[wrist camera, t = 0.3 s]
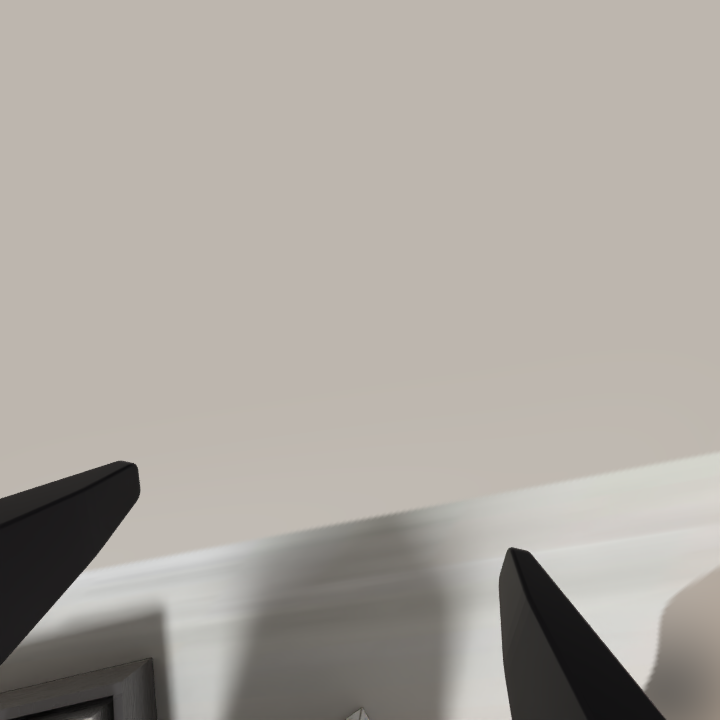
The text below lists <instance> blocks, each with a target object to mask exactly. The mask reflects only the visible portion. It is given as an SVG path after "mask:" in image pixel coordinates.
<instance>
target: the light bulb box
mask: <svg viewBox="0 0 720 720" xmlns="http://www.w3.org/2000/svg"><path fill="white" fill-rule="evenodd" d="M346 720H369V719H368V717H367V715H366V713H365V711H364V709H363V708H360V709H359V710H358V711H356V712H355V713H354V714H352V715H351V716H350V717H348V718H347V719H346Z"/></svg>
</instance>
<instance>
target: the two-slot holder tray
mask: <svg viewBox="0 0 720 720" xmlns="http://www.w3.org/2000/svg"><path fill="white" fill-rule="evenodd" d="M0 720H157V715H156V702H155V689H154V676H153V663H152V658H148V659H144V660H140V661H136V662H131V663H127V664H123V665H119V666H114V667H110V668H106V669H102V670H97V671H93V672H89V673H85V674H80V675H76V676H72V677H68V678H63V679H59V680H55V681H51V682H46V683H42V684H38V685H34V686H29V687H25V688H21V689H17V690H12V691H8V692H4V693H0Z"/></svg>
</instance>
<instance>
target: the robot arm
mask: <svg viewBox="0 0 720 720" xmlns="http://www.w3.org/2000/svg"><path fill="white" fill-rule="evenodd" d="M139 495H140V482H139V473H138V467H137V466H136V464H134V463H130V462H126V461H116V462H113V463H110V464H107V465H104V466H101V467H98V468H95V469H92V470H88V471H85V472H83V473H79V474H76V475H73V476H70V477H67V478H63V479H60V480H57V481H54V482H51V483H48V484H45V485H42V486H39V487H35V488H32V489H29V490H26V491H23V492H20V493H17V494H14V495H11V496H7V497H4V498H1V499H0V665H1V664H2V663H3V662H4V661H5V660H6V659H7V657H8V656H9V655H10V654H11V653H12V652H13V651H14V649H15V648H16V647H17V646H18V645H19V644H20V643H21V641H22V640H23V639H24V638H25V637H26V636H27V635H28V633H29V632H30V631H31V630H32V629H33V628H34V627H35V625H36V624H37V623H38V622H39V621H40V620H41V619H42V617H43V616H44V615H45V614H46V613H47V612H48V611H49V609H50V608H51V607H52V606H53V605H54V604H55V603H56V601H57V600H58V599H59V598H60V597H61V596H62V595H63V593H64V592H65V591H66V590H67V589H68V588H69V587H70V585H71V584H72V583H73V582H74V581H75V580H76V579H77V577H78V576H79V575H80V574H81V573H82V572H83V571H84V570H85V568H86V567H87V566H88V565H89V564H90V562H91V561H92V560H93V559H94V558H95V557H96V555H97V554H98V553H99V551H100V550H101V549H102V548H103V546H104V545H105V543H106V542H107V541H108V539H109V538H110V537H111V535H112V534H113V533H114V531H115V530H116V528H117V527H118V526H119V525H120V523H121V522H122V520H123V519H124V518H125V516H126V515H127V514H128V512H129V511H130V510H131V508H132V507H133V506H134V504H135V503H136V501H137V500H138V498H139ZM499 600H500V617H501V634H502V651H503V664H504V672H505V679H506V685H507V692H508V698H509V704H510V710H511V716H512V720H666V718H665V717H664V716H663V715H662V713H661V712H660V711H659V710H658V709H657V707H656V706H655V705H654V704H653V702H652V701H651V700H650V699H649V697H648V696H647V695H646V694H645V693H644V691H643V690H642V689H641V688H640V686H639V685H638V684H637V683H636V682H635V680H634V679H633V678H632V677H631V675H630V674H629V673H628V672H627V671H626V669H625V668H624V667H623V666H622V664H621V663H620V662H619V661H618V659H617V658H616V657H615V656H614V655H613V653H612V652H611V651H610V650H609V648H608V647H607V646H606V645H605V644H604V642H603V641H602V640H601V639H600V637H599V636H598V635H597V634H596V633H595V631H594V630H593V629H592V628H591V626H590V625H589V624H588V623H587V621H586V620H585V619H584V618H583V617H582V615H581V614H580V613H579V612H578V610H577V609H576V608H575V607H574V606H573V604H572V603H571V602H570V601H569V599H568V598H567V597H566V596H565V595H564V593H563V592H562V591H561V590H560V588H559V587H558V586H557V585H556V583H555V582H554V581H553V580H552V579H551V577H550V576H549V575H548V574H547V572H546V571H545V570H544V569H543V568H542V566H541V565H540V564H539V563H538V561H537V560H536V559H535V558H534V557H533V555H532V554H531V553H530V552H528V551H526V550H522V549H517V548H513V547H511V548H509V549H508V550H507V552H506V556H505V559H504V562H503V566H502V569H501V572H500V577H499Z"/></svg>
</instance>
